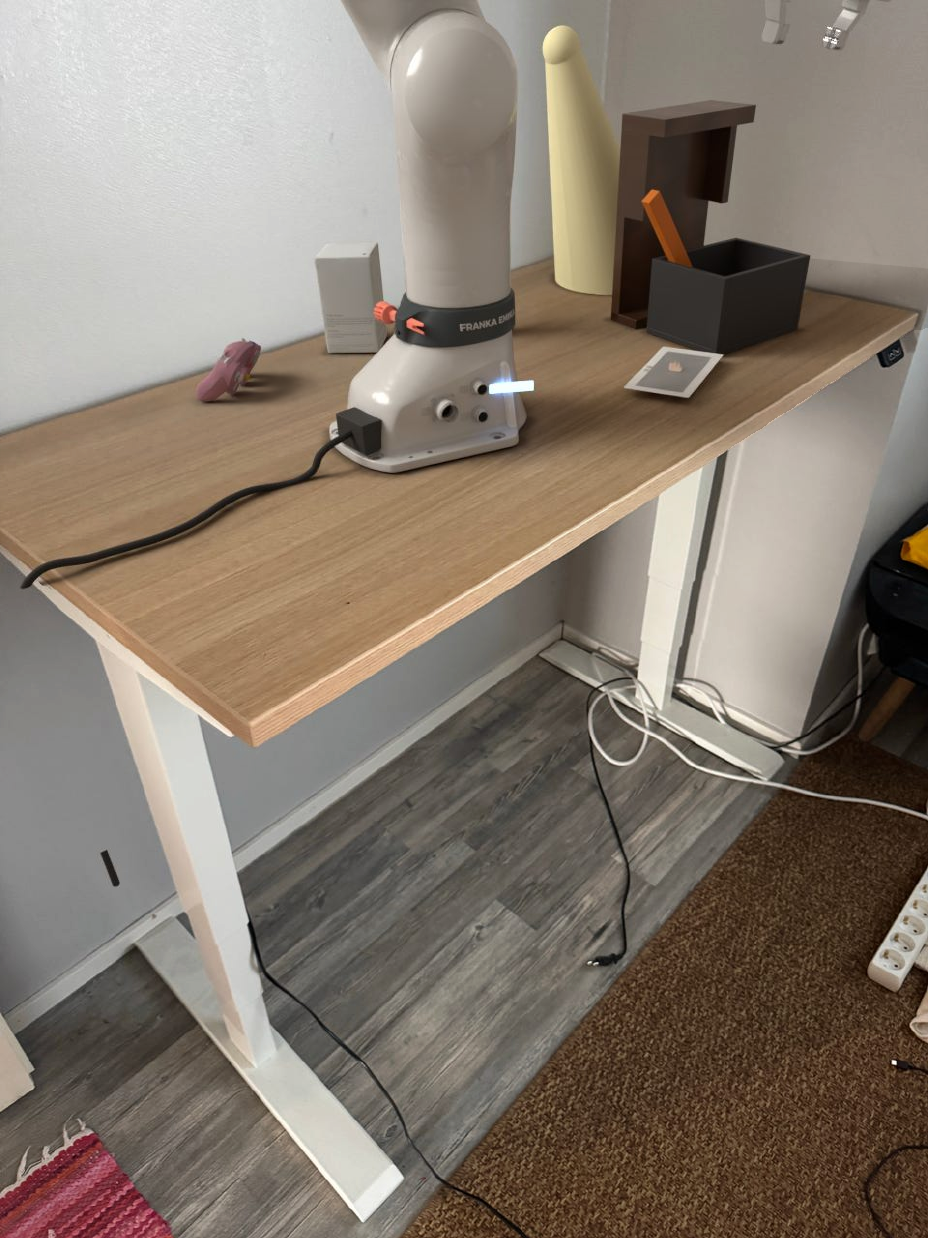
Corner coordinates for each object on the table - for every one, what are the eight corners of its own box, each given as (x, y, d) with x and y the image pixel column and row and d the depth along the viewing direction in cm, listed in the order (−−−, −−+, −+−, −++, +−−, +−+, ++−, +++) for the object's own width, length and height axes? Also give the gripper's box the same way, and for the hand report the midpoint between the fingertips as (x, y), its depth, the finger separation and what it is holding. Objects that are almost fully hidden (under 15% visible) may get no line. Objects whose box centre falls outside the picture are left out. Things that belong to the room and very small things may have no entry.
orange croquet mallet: (658, 221, 108) (629, 214, 111) (711, 340, 123) (684, 331, 127) (693, 181, 108) (663, 175, 112) (742, 305, 123) (714, 296, 127)
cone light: (607, 256, 157) (620, 12, 137) (693, 276, 146) (721, 14, 125) (502, 287, 145) (499, 25, 124) (587, 312, 133) (599, 27, 113)
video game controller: (225, 416, 111) (240, 367, 107) (191, 399, 111) (204, 349, 106) (256, 385, 119) (271, 339, 115) (224, 369, 118) (238, 321, 114)
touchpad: (722, 363, 115) (724, 346, 114) (687, 406, 105) (689, 388, 103) (662, 354, 118) (663, 338, 117) (622, 396, 108) (623, 378, 106)
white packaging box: (388, 335, 128) (380, 240, 121) (379, 354, 122) (370, 255, 115) (337, 335, 129) (325, 241, 122) (325, 354, 123) (312, 256, 116)
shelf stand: (648, 333, 125) (666, 119, 110) (610, 319, 130) (622, 113, 115) (729, 308, 132) (756, 104, 117) (689, 297, 137) (710, 99, 122)
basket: (715, 357, 117) (725, 278, 111) (646, 332, 125) (652, 258, 120) (797, 330, 124) (811, 254, 118) (726, 308, 132) (736, 237, 127)
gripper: (900, -118, 90) (841, 45, 98) (763, -155, 79) (711, 31, 88) (955, -109, 86) (888, 59, 95) (819, -146, 76) (758, 47, 84)
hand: (802, 45), depth 91 cm, fingers open, 8 cm apart
